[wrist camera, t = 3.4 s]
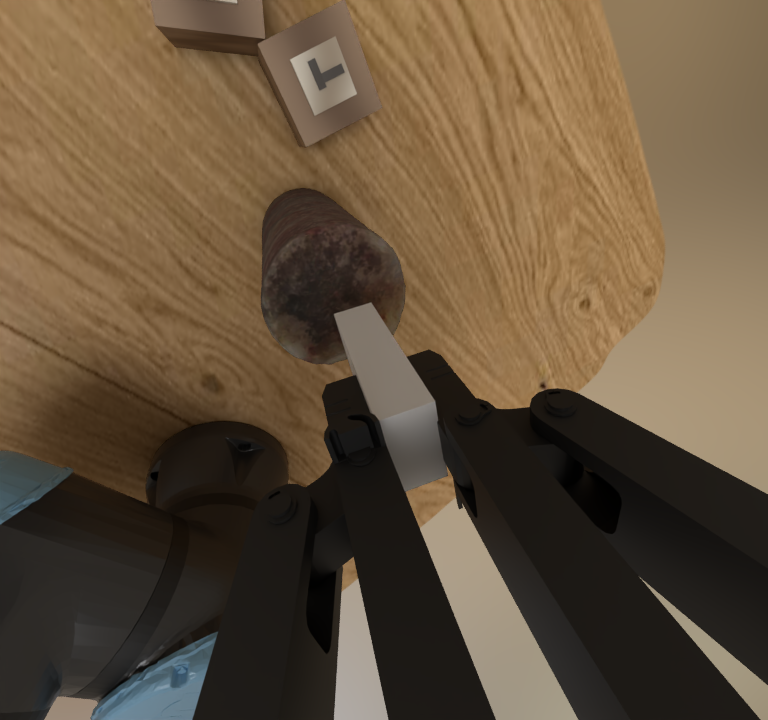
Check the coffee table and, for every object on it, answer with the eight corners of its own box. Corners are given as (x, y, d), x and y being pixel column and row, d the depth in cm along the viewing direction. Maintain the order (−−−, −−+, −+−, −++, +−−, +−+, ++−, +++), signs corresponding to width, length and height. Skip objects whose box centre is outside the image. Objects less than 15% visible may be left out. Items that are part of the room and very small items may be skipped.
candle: (268, 173, 32) (272, 207, 15) (352, 195, 34) (436, 246, 17) (257, 262, 35) (251, 373, 18) (335, 276, 37) (392, 385, 21)
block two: (299, 146, 31) (306, 147, 26) (258, 61, 28) (257, 41, 23) (363, 113, 31) (384, 107, 26) (330, 24, 28) (346, -4, 23)
